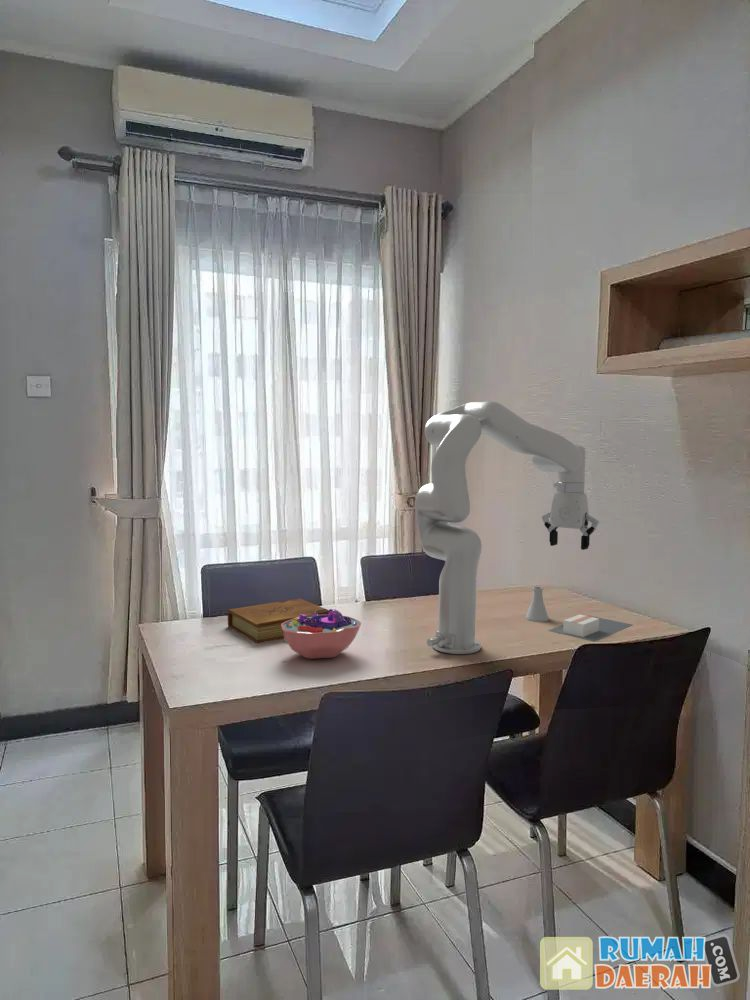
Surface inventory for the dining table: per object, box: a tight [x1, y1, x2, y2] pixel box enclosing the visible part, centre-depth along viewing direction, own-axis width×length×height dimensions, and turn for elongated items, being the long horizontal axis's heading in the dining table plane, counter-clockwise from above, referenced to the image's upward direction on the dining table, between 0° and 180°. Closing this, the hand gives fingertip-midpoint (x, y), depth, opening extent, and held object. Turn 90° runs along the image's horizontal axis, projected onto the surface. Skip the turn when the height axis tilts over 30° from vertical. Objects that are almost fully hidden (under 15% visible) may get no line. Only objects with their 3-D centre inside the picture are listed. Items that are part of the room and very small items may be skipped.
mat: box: [547, 615, 633, 643], centre depth 196 cm, size 24×14×1 cm, turn 135°
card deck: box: [562, 614, 599, 637], centre depth 192 cm, size 9×6×4 cm, turn 135°
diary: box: [227, 598, 330, 644], centre depth 193 cm, size 23×19×6 cm
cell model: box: [281, 608, 362, 660], centre depth 170 cm, size 17×20×11 cm
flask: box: [524, 586, 550, 623], centre depth 205 cm, size 7×7×10 cm
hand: (568, 547), depth 199 cm, fingers open, 9 cm apart
